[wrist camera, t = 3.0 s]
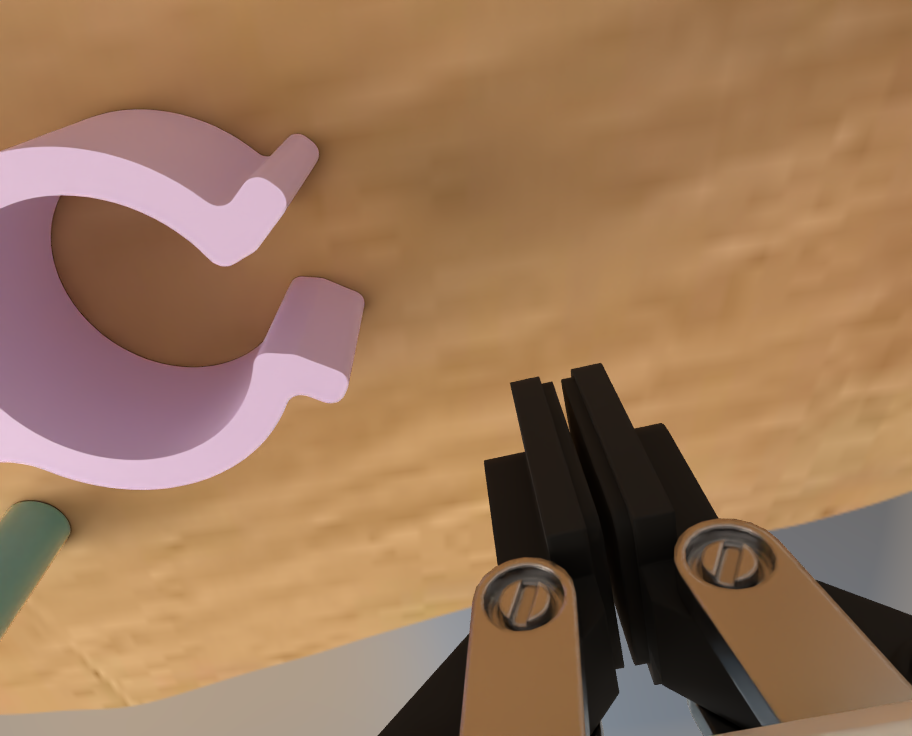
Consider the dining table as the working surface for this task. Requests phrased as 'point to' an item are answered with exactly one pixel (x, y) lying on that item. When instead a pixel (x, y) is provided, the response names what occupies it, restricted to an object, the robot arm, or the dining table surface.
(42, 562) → the green cylinder
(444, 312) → the dining table surface
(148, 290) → the dining table surface
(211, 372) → the clip
